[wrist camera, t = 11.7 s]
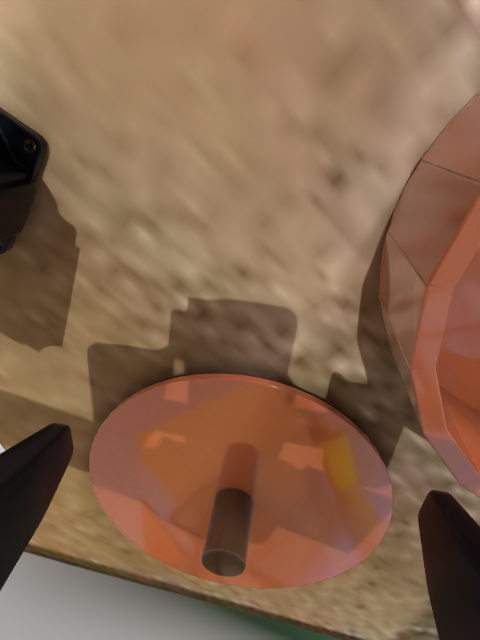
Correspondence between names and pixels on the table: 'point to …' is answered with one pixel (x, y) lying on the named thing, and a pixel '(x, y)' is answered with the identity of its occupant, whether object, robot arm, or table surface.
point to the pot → (440, 293)
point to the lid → (241, 481)
